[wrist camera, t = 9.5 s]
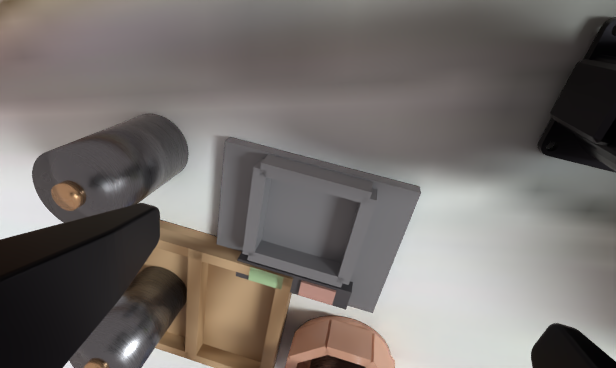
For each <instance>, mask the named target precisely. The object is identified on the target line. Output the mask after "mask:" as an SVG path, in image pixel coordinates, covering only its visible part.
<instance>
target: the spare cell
mask: <svg viewBox="0 0 616 368" xmlns="http://www.w3.org/2000/svg"><path fill="white" fill-rule="evenodd" d="M187 161H188V146H187V142H186V140H185V138H184V136H183V134H182V133H181V131H180V130H179V129H178V127H177V126H176V125H175V124H174V123H172V122H171V121H170V120H168V119H166V118H165V117H162V116H160V115H156V114H144V115H141V116H138V117H136V118H133V119H130V120H128V121H125V122H123V123H120V124H118V125H115V126H112V127H110V128H107V129H105V130H102V131H100V132H97V133H94V134H92V135H89V136H87V137H84V138H81V139H79V140H76V141H74V142H71V143H69V144H66V145H63V146H61V147H58V148H56V149H53V150H51V151H48V152H46V153H43V154H42V155H40V156H39V157H38V158H37V159H36V161H35V163H34V166H33V170H32V178H33V183H34V187H35V189H36V192H37V194H38V196H39V198H40V199H41V201H42V202H43V204H44V205H45V206H46V207H47V209H48V210H49V211H50V212H51V213H52V214H53V215H54V216H56V217H57V218H58V219H59V220H61V221H62V222H64V223H66V222H70V221H73V220H77V219H81V218H85V217H89V216H93V215H96V214H100V213H104V212H108V211H112V210H115V209H119V208H123V207H127V206H131V205H134V204H137V203H139V202H140V201H142V200H143V199H144V198H146V197H147V196H148V195H150V194H151V193H152V192H154V191H155V190H156V189H158V188H159V187H160V186H162V185H163V184H165V183H166V182H167V181H169V180H170V179H171V178H173V177H174V176H175V175H177V174H178V173H179V172H181V171H182V170H183V169H184V167H185V166H186V164H187Z"/></svg>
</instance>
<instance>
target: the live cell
mask: <svg viewBox="0 0 616 368" xmlns="http://www.w3.org/2000/svg"><path fill="white" fill-rule="evenodd" d="M186 302H187V287H186V285H185V284H184V282H183V281H182V280H181V279H180V278H179V277H178V276H177V275H176V274H175V273H173V272H172V271H170V270H168V269H165V268H162V267H157V266H150V267H146V268H144V269H143V270H142V271H141V272H140V273H139V274H138V275H137V276H136V277H135V278H134V280H133V281H132V283H131V284H130V286H129V287H128V289H127V290H126V291H125V293H124V294H123V296H122V297H121V298H120V300H119V301H118V302H117V303H116V305H115V306H114V307H113V308H112V309H111V311H110V312H109V313H108V314H107V315H106V317H105V318H104V319H103V320H102V321H101V323H100V324H99V325H98V326H97V327H96V329H95V330H94V331H93V332H92V333H91V334H90V336H89V337H88V338H87V339H86V340H85V342H84V343H83V344H82V345H81V346H80V348H79V349H78V350H77V351H76V352H75V354H74V355H73V356H72V357H71V358H70V360H69V361H70V363H71V364H72V366H73V367H74V368H141V367H142V366H143V364H144V363H145V361H146V360H147V358H148V357H149V356H150V354H151V353H152V351H153V350H154V348H155V347H156V345H157V344H158V343H159V341H160V340H161V338H162V337H163V335H164V334H165V332H166V331H167V329H168V328H169V327H170V325H171V324H172V322H173V321H174V319H175V318H176V316H177V315H178V314H179V312H180V311H181V309H182V308H183V306H184V305H185V303H186Z"/></svg>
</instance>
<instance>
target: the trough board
mask: <svg viewBox="0 0 616 368" xmlns="http://www.w3.org/2000/svg"><path fill="white" fill-rule="evenodd" d="M240 254H241V251H238V250H234V249H231V248H227V247H224V246H221V245H217V237H216V236H213V235H209V234H206V233H203V232H199V231H196V230H192V229H189V228H186V227H182V226H179V225H175V224H172V223H169V222H165V221H162V220H160V238H159V242H158V244H157V246H156V247H155V249H154V250H153V252H152V253H151V255H150V256H149V258H148V259H147V260H146V262H145V263H144V265H143V266H142V268H141V269H140V271H139V272H138V274H139V273H140V272H141V271H142V270H143V269H144V268H146V267H150V266H157V267H162V268H165V269H168V270H170V271H172V272H173V273H175V274H176V275H177V276H178V277H179V278H180V279H181V280H182V281H183V282H184V284H185V285H186V287H187V302H186V303H185V305H184V306H183V308H182V309H181V311H180V312H179V314H178V315H177V316H176V318H175V319H174V321H173V322H172V324H171V325H170V327H169V328H168V329H167V331H166V332H165V334H164V335H163V337H162V338H161V340H160V341H159V343H158V344H157V345H156V347H155V348H157V349H160V350H163V351H166V352H169V353H172V354H175V355H178V356H181V357H184V358H187V359H190V360H193V361H196V362H199V363H202V364H205V365H208V366H211V367H214V368H274V366H275V363H276V358H277V354H278V350H279V345H280V341H281V337H282V333H283V328H284V324H285V320H286V315H287V311H288V307H289V303H290V298H291V294H292V293H290V290H291V285H292V281H293V277H290V276H286V275H283V274H280V273H276V272H273V271H270V270H266V269H263V268H260V267H256V266H253V265H250V264H246V263H243V262H240V261H237V260H238V257H239V256H240ZM250 267H252V268H256V269H259V271H260V272H262V271H264V273H265V271H266V272H269V273H268V274H276V275H277V276H276V277H279V276H280V277H281V276H282V277H284V278H283V279H282V280H283V283H282V282H281V278H280V277H279V279H278V281H279V280H280V281H279V282H280V284H281V283H282V284H281V285H282V289H280V288H279V287H278V288H273V287H270V286H267V285H263V284H260V283H257V282H254V281H250V280H247V279H244V278H241V277H237V276H236V272H239V273H242V274H245V275H249V271H250V270H251V269H250ZM256 269H255V271H256ZM261 270H262V271H261ZM259 271H258V272H259ZM256 272H257V271H256ZM138 274H137V275H138ZM253 274H254V273H253ZM137 275H136V276H137ZM263 275H264V274H263ZM278 275H279V276H278ZM273 277H275V276H273ZM261 279H262V278H261ZM266 279H268V278H267V277H266ZM277 284H278V286H279V285H280V284H279V283H277ZM276 287H277V286H276Z"/></svg>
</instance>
